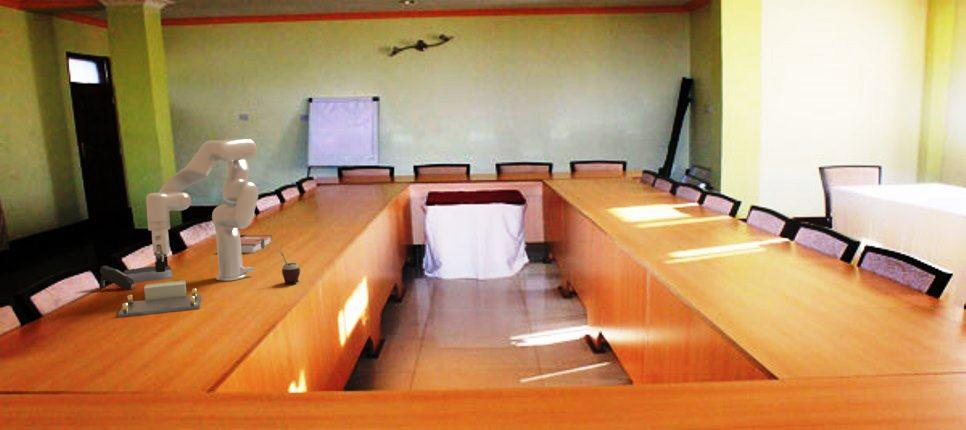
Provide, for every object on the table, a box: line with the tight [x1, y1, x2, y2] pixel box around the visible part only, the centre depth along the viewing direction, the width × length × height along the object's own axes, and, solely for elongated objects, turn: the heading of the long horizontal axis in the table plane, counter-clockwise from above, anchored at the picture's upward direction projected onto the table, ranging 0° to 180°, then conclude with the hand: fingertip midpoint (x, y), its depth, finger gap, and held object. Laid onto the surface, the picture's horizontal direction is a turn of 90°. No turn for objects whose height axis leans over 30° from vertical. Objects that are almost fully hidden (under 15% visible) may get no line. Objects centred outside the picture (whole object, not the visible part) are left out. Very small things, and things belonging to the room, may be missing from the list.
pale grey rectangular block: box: [143, 280, 187, 300], centre depth 246 cm, size 14×6×5 cm, turn 113°
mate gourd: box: [275, 248, 301, 286], centre depth 262 cm, size 8×8×15 cm
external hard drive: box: [122, 265, 174, 284], centre depth 275 cm, size 13×19×4 cm
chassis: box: [117, 287, 203, 318], centre depth 232 cm, size 26×15×4 cm, turn 111°
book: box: [240, 234, 272, 254], centre depth 333 cm, size 26×18×5 cm
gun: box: [99, 265, 136, 291], centre depth 258 cm, size 3×16×10 cm, turn 79°
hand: (161, 269), depth 244 cm, fingers open, 9 cm apart
